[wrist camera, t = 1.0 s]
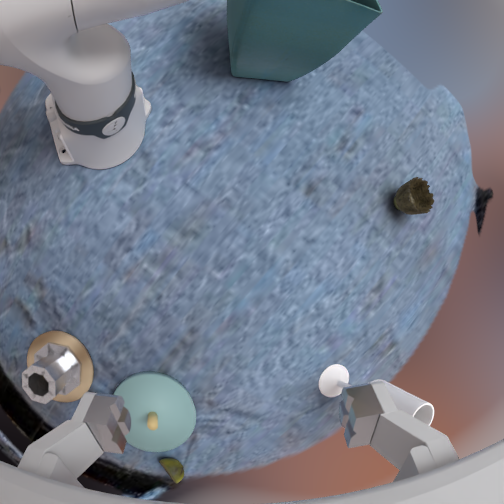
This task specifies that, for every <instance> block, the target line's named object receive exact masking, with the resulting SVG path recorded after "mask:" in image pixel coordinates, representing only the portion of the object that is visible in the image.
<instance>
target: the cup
mask: <svg viewBox="0 0 504 504" xmlns="http://www.w3.org/2000/svg"><path fill="white" fill-rule="evenodd" d="M427 183H428V182H427V181H425V180H422V178H419V179H418V177H416V178H413V179H412V180H410V181H408V182H407V183H405V184H404V185H402V186H401V187H400V188H399V189H398V191H397V193H396V196H395V197H394V199H393V204H394V207H395V208H396V209H397V210H399V211H402V212H404V213H406V214H411V215H412V214H422V213H428V212H429V211H430V210H429V209H431V208H433V207H432V206H431V205H433V203H434V199H433V198H432V197H433V194H432V193H429V190H428V188H429V187H430V186H429V185H427Z"/></svg>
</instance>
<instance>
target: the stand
mask: <svg viewBox="0 0 504 504" xmlns="http://www.w3.org/2000/svg"><path fill="white" fill-rule="evenodd" d="M48 342H54V343H58V344H62V345H67V346H69V347H70V348H71V350H72V351H73V352H74V354H75V355H76V356H77V358H78V359H79V360H80V361H81V363H82V371H81V384H80V385H79V386H78V387H76V388H75V389H74V390H72V391H71V392H70V393H68V394H67V395H61V394H57V395H56V396H55V397H54V398H53V400H56V401H59V402H72V401H76V400H78V399H80V398H81V397H82V396H83V394H84V393H86V392H87V391H88V390H89V388H90V386H91V384H92V381H93V376H94V367H93V362H92V359H91V356H90V354H89V352H88V350H87V349H86V347H85V346H84V345H83V344H82V343H81V342H80V341H79V340H78V339H77V338H76V337H74V336H72V335H71V334H69V333H66V332H63V331H49V332H46V333H43V334H41V335H40V336H38V337H37V338H36V339H35V340H34V341H33V342H32V344H31V346H30V348H29V350H28V355H27V366H28V367H30V366H31V365H32V364H34V354H35V353H36V352H37V351H39V350H40V349H41V348H42V347H43V346H45V345H46V344H47V343H48Z"/></svg>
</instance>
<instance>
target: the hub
mask: <svg viewBox="0 0 504 504" xmlns="http://www.w3.org/2000/svg"><path fill="white" fill-rule="evenodd" d="M113 395H118V396H122V397H123V399H124V402H125V403H124V407H125V408H126V409H128V410H129V413H130V416H131V429H130V432H129V433H128V434H127V435H125V438H126V440H127V443H129V444H130V445H132V446H134V447H136V448H138V449H141V450H144V451H150V452H163V451H168V450H172V449H174V448H176V447H178V446H180V445H181V444H183V443H184V442H185V441H186V440H187V439H188V438H189V437H190V435H191V434H192V432H193V430H194V427H195V423H196V410H195V407H194V403H193V400H192V398H191V396H190V394H189V392H188V391H187V389H186V388H185V387H184V386H183V385H182V384H181V383H180V382H179V381H177V380H176V379H174V378H173V377H171V376H169V375H166V374H163V373H160V372H153V371H146V372H139V373H136V374H133V375H131V376H129V377H127V378H126V379H124V380H123V381H122V382H121V383H120V384H119V385H118V387H117V388H116V390H115V392H114V394H113Z"/></svg>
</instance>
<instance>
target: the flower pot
mask: <svg viewBox="0 0 504 504" xmlns="http://www.w3.org/2000/svg"><path fill="white" fill-rule="evenodd" d="M381 13H382V8H381V6H380V4H379V2H378V0H227V28H228V39H229V51H230V63H231V73H232V75H233V76H235V77H246V78H257V79H267V80H276V81H285V82H289V81H292V80H294V79H297V78H299V77H301V76H303V75H305V74H307V73H309V72H311V71H313V70H314V69H316V68H318V67H319V66H321V65H323V64H324V63H326V62H327V61H328V60H330V59H331V58H332V57H334V56H335V55H336V54H338V53H339V52H340V51H341V50H342V49H343V48H344V47H345V46H346V45H347V44H348V43H349V42H350V41H351V40H352V39H353V38H354V37H356V36H357V35H358V34H359V33H360V32H361V31H362V30H363V29H364V28H365V27H366V26H368V25H369V24H370V23H371V22H372V21H373V20H374V19H376V18H377V17H378V16H379V15H380V14H381Z"/></svg>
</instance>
